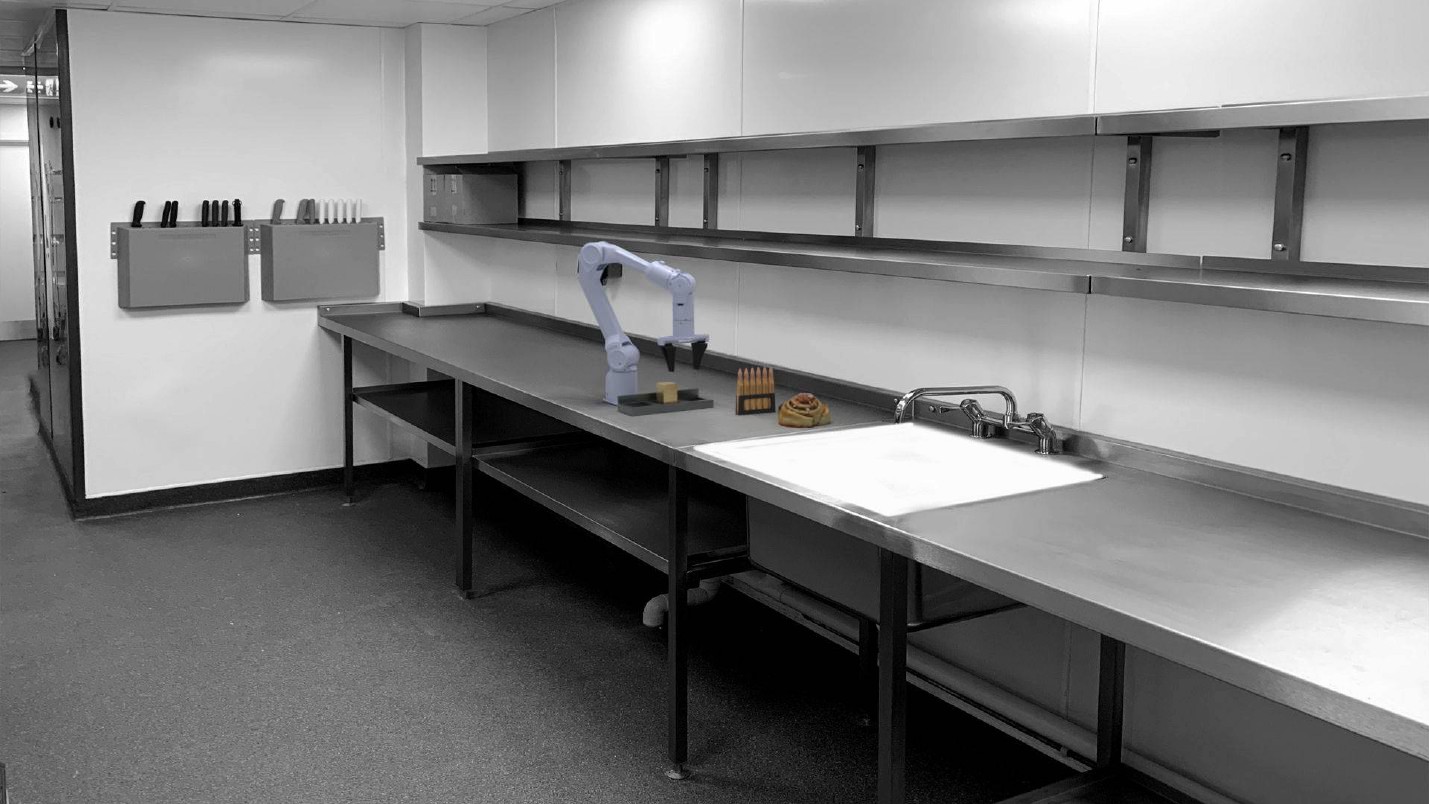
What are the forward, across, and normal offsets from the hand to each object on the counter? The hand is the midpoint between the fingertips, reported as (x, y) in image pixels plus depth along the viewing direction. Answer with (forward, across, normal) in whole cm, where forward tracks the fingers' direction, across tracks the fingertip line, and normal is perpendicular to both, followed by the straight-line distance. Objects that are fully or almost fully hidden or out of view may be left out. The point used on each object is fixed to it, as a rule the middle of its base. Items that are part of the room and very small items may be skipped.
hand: (683, 370), depth 321 cm
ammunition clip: (+10, +10, -20) cm, 24 cm away
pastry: (+10, +14, -37) cm, 40 cm away
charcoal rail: (+9, -7, -3) cm, 12 cm away
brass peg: (+9, -7, -3) cm, 12 cm away
